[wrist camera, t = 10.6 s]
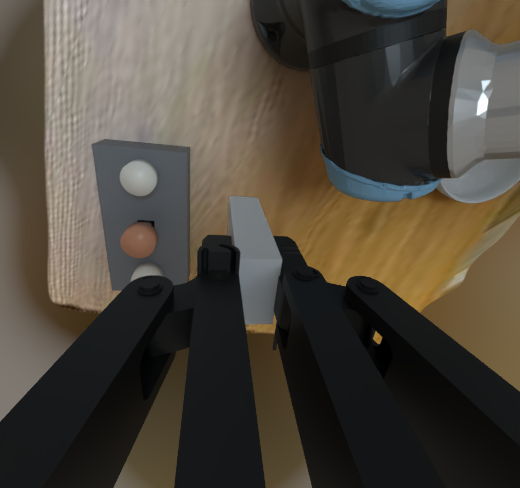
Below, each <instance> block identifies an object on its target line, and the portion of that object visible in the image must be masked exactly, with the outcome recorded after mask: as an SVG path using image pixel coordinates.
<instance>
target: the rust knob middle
mask: <svg viewBox="0 0 520 488" xmlns="http://www.w3.org/2000/svg"><path fill="white" fill-rule="evenodd" d="M153 226H154V221H147V220H144V221H143V222H135V223H132V224H131V225H129V226H128V227H127V229H126V230H125V232H124V233H123V235H122V236H121V239H120V245H121V248H122V249H123V251H124V252H125V253H126V254H128V255H129V256H131V257H134V258H145V257H147V256H149V255H150V254H152V252H153V251H154V249H155V246H156V244H157V241H158V234H157V231H156V230H155V229H154V227H153Z"/></svg>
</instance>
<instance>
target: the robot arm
mask: <svg viewBox="0 0 520 488" xmlns="http://www.w3.org/2000/svg"><path fill="white" fill-rule="evenodd" d="M251 12H252V18H253V23H254V26H255V29H256V32H257V35H258V37H259V39H260V41H261V43H262V44H263V46H264V47H265V49H266V50H267V51H268V53H269V54H270V55H271V56H272V57H273V58H274V59H275V60H277V61H278V62H279V63H281V64H283V65H284V66H286V67H289V68H292V69H295V70H310V75H311V82H312V88H313V94H314V101H315V107H316V114H317V120H318V127H319V133H320V139H321V145H320V151H321V154H322V156H323V158H324V161H325V166H326V171H327V176H328V178H329V180H330V182H331V183H332V184H333V185H334V186H335V188H336V189H337V190H339V191H340V192H342V193H344V194H346V195H349V196H351V197H354V198H358V199H363V200H369V201H378V202H393V201H401V200H402V199H403V198H408V199H414V198H418V197H422V196H424V195H426V194H428V193H430V192H432V191H433V190H434V189H435V188H436V187H437V186H438V184H439V183H440V181H441V180H442V178H459V177H461V176H462V175H463V174H465V173H466V172H467V171H468V170H470V169H471V168H472V167H474V166H475V165H476V164H477V163H480V162H482V161H484V160H493V159H515V158H520V40H518V41H514V42H510V43H506V44H494V43H493V42H491V41H490V40H489V39H487V38H486V37H484V36H483V35H481V34H480V33H479V32H477V31H476V30H468V31H465V32H462V33H458V34H455V35H451V36H446V29H444V28H446V20H447V0H251ZM442 29H443V30H442ZM393 44H394V45H393ZM383 47H384V48H383ZM380 48H381V49H380ZM373 50H374V51H373ZM370 51H371V52H370ZM367 52H368V53H367ZM363 53H364V54H363ZM360 54H361V55H360ZM357 55H358V56H357ZM353 56H354V57H353ZM350 57H351V58H350ZM347 58H348V59H347ZM343 59H345V60H343ZM340 60H341V61H340ZM337 61H338V62H337ZM333 62H335V63H333ZM331 63H332V64H331ZM197 271H198V274H197V276H196V278H194V279H193V280H191V281H189V282H187V283H183V284H179V285H173V283H172V281H171V280H169V279H168V278H167V277H163V276H159V275H148V276H143V277H140V278H137V279H135V280H133V281H132V282H130V283H129V284H128V285H127V286H126V287H125V288H124V289H123V290H122V291H121V292H120V293H119V294H118V295H117V297H116V298H115V299H114V300H113V301H112V302H111V303H110V304H109V305H108V306H107V307H106V308H105V309H104V311H103V312H102V313H101V314H100V315H99V316H98V317H97V318H96V319H95V320H94V321H93V322H92V323H91V325H90V326H89V327H88V328H87V329H86V330H85V331H84V332H83V333H82V334H81V335H80V336H79V337H78V339H77V340H76V341H75V342H74V343H73V344H72V345H71V346H70V347H69V348H68V349H67V350H66V352H65V353H64V354H63V355H62V356H61V357H60V358H59V359H58V360H57V361H56V362H55V363H54V364H53V366H52V367H51V368H50V369H49V370H48V371H47V372H46V373H45V374H44V375H43V376H42V377H41V379H39V381H38V382H37V383H36V384H35V385H34V386H33V387H32V388H31V389H30V390H29V391H28V392H27V394H26V395H25V396H24V397H23V398H22V399H21V400H20V401H19V402H18V403H17V404H16V405H15V406H14V407H13V409H12V410H11V411H10V412H9V413H8V414H7V415H6V416H5V417H4V418H3V419H2V420H1V422H0V488H113V487H114V485H115V483H116V481H117V479H118V476H119V475H120V472H121V470H122V468H123V466H124V464H125V462H126V460H127V458H128V455H129V453H130V451H131V449H132V447H133V445H134V443H135V441H136V438H137V436H138V434H139V432H140V430H141V428H142V426H143V424H144V422H145V419H146V417H147V415H148V413H149V411H150V409H151V406H152V405H153V403H154V400H155V398H156V396H157V394H158V392H159V390H160V387H161V385H162V383H163V381H164V379H165V377H166V375H167V373H168V371H169V369H170V367H171V364H172V362H173V360H174V358H175V355H176V351H178V350H182V349H185V348H188V347H190V348H189V357H188V366H187V375H186V385H185V394H184V403H183V412H182V422H181V430H180V440H179V449H178V458H177V468H176V477H175V486H174V488H265V480H264V471H263V464H262V455H261V447H260V439H259V431H258V424H257V415H256V407H255V400H254V391H253V383H252V375H251V367H250V359H249V352H248V343H247V335H246V327H245V324H273V319H274V312H275V316H276V320H277V323H276V329H275V336H274V342H273V350H276V346H277V344H278V347H279V351H280V356H281V360H282V364H283V368H284V372H285V376H286V380H287V385H288V389H289V393H290V397H291V401H292V406H293V410H294V414H295V418H296V422H297V426H298V430H299V434H300V438H301V443H302V447H303V451H304V455H305V459H306V463H307V468H308V472H309V476H310V480H311V485H312V488H520V392H519V391H518V390H517V389H516V388H514V387H513V386H512V385H511V384H509V383H508V382H507V381H505V380H504V379H503V378H502V377H500V376H499V375H498V374H497V373H495V372H494V371H493V370H491V369H490V368H489V367H488V366H486V365H485V364H484V363H483V362H481V361H480V360H479V359H478V358H476V357H475V356H473V355H472V354H471V353H470V352H468V351H467V350H466V349H465V348H463V347H462V346H461V345H460V344H458V343H457V342H456V341H454V340H453V339H452V338H451V337H450V336H448V335H447V334H446V333H444V332H443V331H442V330H441V329H439V328H438V327H437V326H435V325H434V324H433V323H432V322H430V321H429V320H428V319H427V318H425V317H424V316H423V315H421V314H420V313H419V312H418V311H417V310H415V309H414V308H413V307H411V306H410V305H409V304H408V303H406V302H405V301H404V300H403V299H401V298H400V297H399V296H397V295H396V294H395V293H394V292H392V291H391V290H390V289H389V288H387V287H386V286H385V285H384V284H382V283H380V282H379V281H377V280H375V279H372V278H370V277H366V276H354V277H351V278H349V280H348V281H347V284H346V286H341V285H336V284H331V283H327V282H326V280H325V279H324V277H323V275H322V274H321V273H320V272H319V271H318V270H316V269H314V268H312V267H309V266H307V264H306V262H305V260H304V258H303V256H302V254H300V251H299V249H298V247H297V245H296V243H295V242H294V241H293V240H292V239H290V238H289V237H285V236H273V235H272V232H271V230H270V227H269V225H268V222H267V220H266V217H265V215H264V212H263V210H262V207H261V205H260V202H259V200H258V198H257V197H239V196H229V208H228V228H227V236H226V235H207V236H206V237H205V238H204V239H203V241H202V246H201V247H200V248H199V249H198V251H197ZM375 331H377V332H378V333H379V334H380V335H381V336H382V337H383V338H382V341H381V343H380V345H379V344H377V343H376V342H375V341H374V340H373V337H374V334H375Z"/></svg>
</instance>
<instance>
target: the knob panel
mask: <svg viewBox="0 0 520 488" xmlns="http://www.w3.org/2000/svg"><path fill="white" fill-rule="evenodd" d="M92 149H93V156H94V163H95V170H96V178H97V185H98V192H99V199H100V206H101V213H102V220H103V228H104V235H105V242H106V249H107V256H108V263H109V271H110V278H111V285H112V290H123V289H124V288H125V287H126V286H127V285H128V284H129V283H130V282H131V277H132V275H133V273H134V271H135V269H136V267H137V266H138V265H140V264H142V263H146V262H150V263H154V264H156V265H158V266H159V267H160V268H161V269H162V271H163V277H167V278H168V279H169V280H171V281H172V283H173V285H179V284H183V283H187V282H189V275H190V147H183V146H172V145H161V144H150V143H140V142H129V141H118V140H107V139H104V140H102V141H99V142H96V143H94V144H92ZM135 159H144V160H147V161H149V162H150V163H152V164H153V165H154V166H155V168H156V169H157V171H158V175H159V180H158V183H157V185H156V186H155V188H154V189H153V191H152V192H151V193H150V194H148V195H145V196H135V195H132V194H130V193H129V192H127V191H126V190H125V189H124V188H123V186H122V184H121V182H120V172H121V170H122V168H123V167H124V166H125V165H127V164H128V163H129V162H131V161H132V160H135ZM144 220H147V221H154V226H153V227H154V229H155V230H156V231H157V234H158V241H157V244H156V246H155V249H154V251H153V252H152V254H150V255H149V256H147V257H145V258H134V257H131V256H129V255H128V254H126V253H125V252H124V251H123V249H122V248H121V245H120V239H121V236H122V235H123V233H124V232H125V230H126V229H127V227H128V226H129V225H131V224H132V223H135V222H143V221H144Z"/></svg>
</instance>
